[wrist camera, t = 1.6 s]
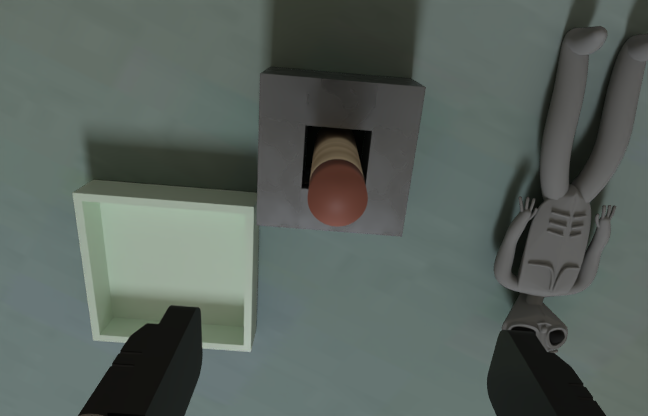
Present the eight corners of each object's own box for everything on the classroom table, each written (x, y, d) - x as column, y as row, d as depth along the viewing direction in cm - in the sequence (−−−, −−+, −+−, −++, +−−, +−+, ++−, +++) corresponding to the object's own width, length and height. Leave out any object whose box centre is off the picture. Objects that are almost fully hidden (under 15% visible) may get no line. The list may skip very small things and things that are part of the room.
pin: (316, 120, 33) (309, 167, 21) (357, 123, 33) (371, 172, 21) (313, 159, 34) (305, 224, 23) (353, 162, 34) (364, 228, 23)
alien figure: (708, 35, 27) (585, 373, 35) (652, 37, 31) (555, 335, 40) (578, 21, 26) (485, 364, 35) (540, 25, 31) (466, 328, 39)
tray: (93, 179, 34) (72, 192, 32) (260, 192, 35) (253, 206, 32) (110, 318, 39) (93, 340, 37) (256, 329, 40) (250, 351, 37)
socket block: (270, 66, 31) (260, 73, 27) (411, 78, 31) (425, 87, 27) (266, 199, 35) (256, 225, 30) (392, 209, 35) (401, 236, 30)
